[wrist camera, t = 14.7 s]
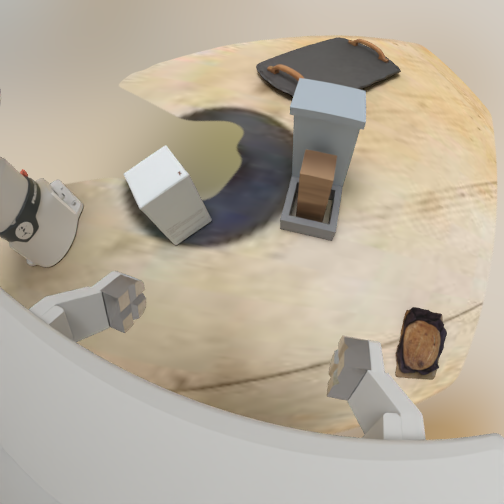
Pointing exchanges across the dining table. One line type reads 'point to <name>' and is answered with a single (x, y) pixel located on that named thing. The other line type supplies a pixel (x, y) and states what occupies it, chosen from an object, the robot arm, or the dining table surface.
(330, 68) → the serving board
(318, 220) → the walnut block
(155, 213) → the supplement box
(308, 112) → the pale blue tower
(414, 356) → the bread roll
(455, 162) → the dining table surface
